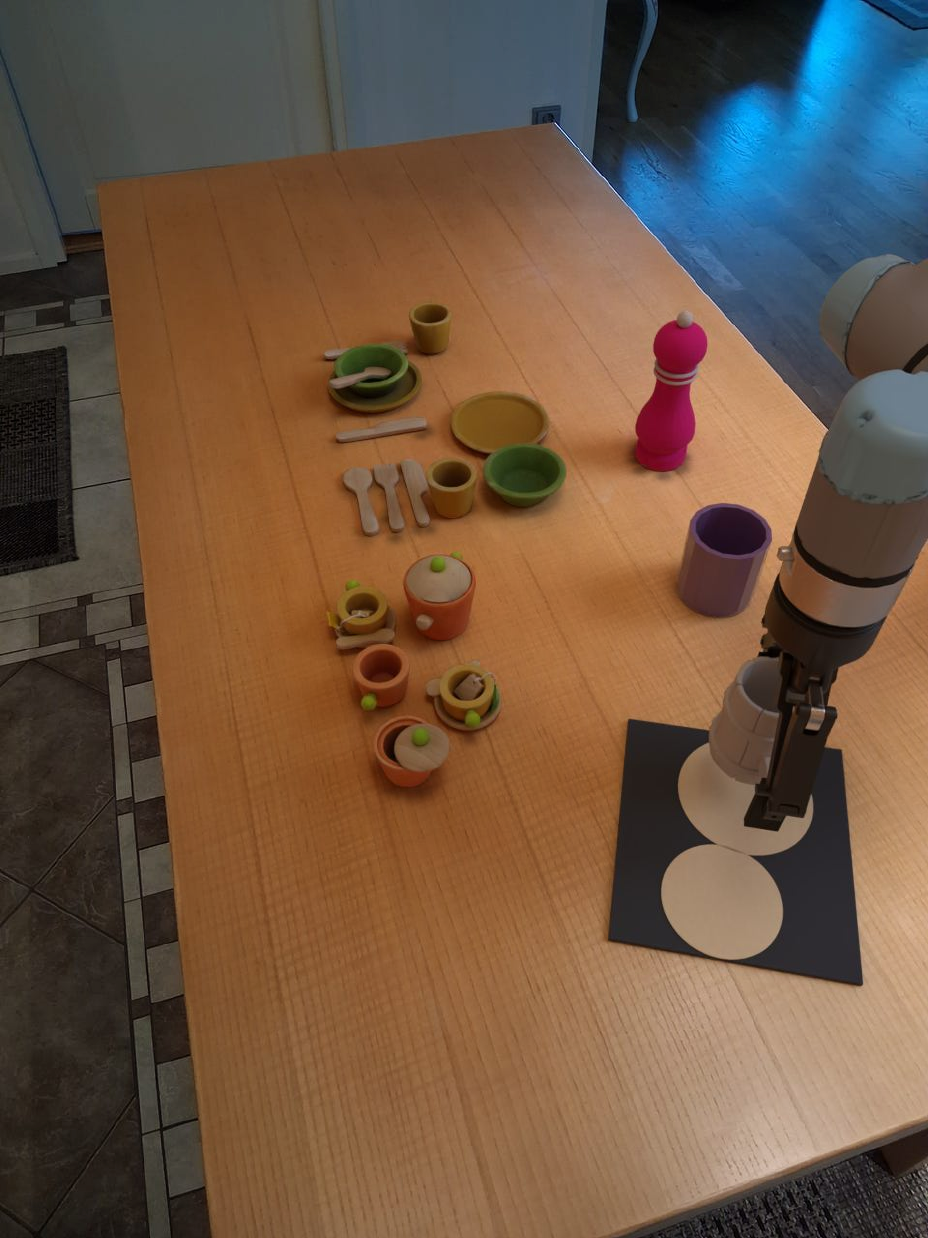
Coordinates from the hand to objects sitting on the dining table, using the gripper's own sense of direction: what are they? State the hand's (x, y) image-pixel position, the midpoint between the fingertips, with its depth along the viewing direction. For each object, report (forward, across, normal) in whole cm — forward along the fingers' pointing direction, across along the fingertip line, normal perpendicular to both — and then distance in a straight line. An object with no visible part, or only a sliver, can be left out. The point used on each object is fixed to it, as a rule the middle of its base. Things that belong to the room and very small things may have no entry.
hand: (759, 760), depth 77 cm
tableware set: (+7, -50, -39) cm, 63 cm away
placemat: (+6, +4, -1) cm, 8 cm away
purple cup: (+6, -26, -3) cm, 26 cm away
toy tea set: (+7, -8, -32) cm, 33 cm away
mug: (+2, 0, 0) cm, 2 cm away
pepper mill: (+6, -48, -10) cm, 49 cm away
